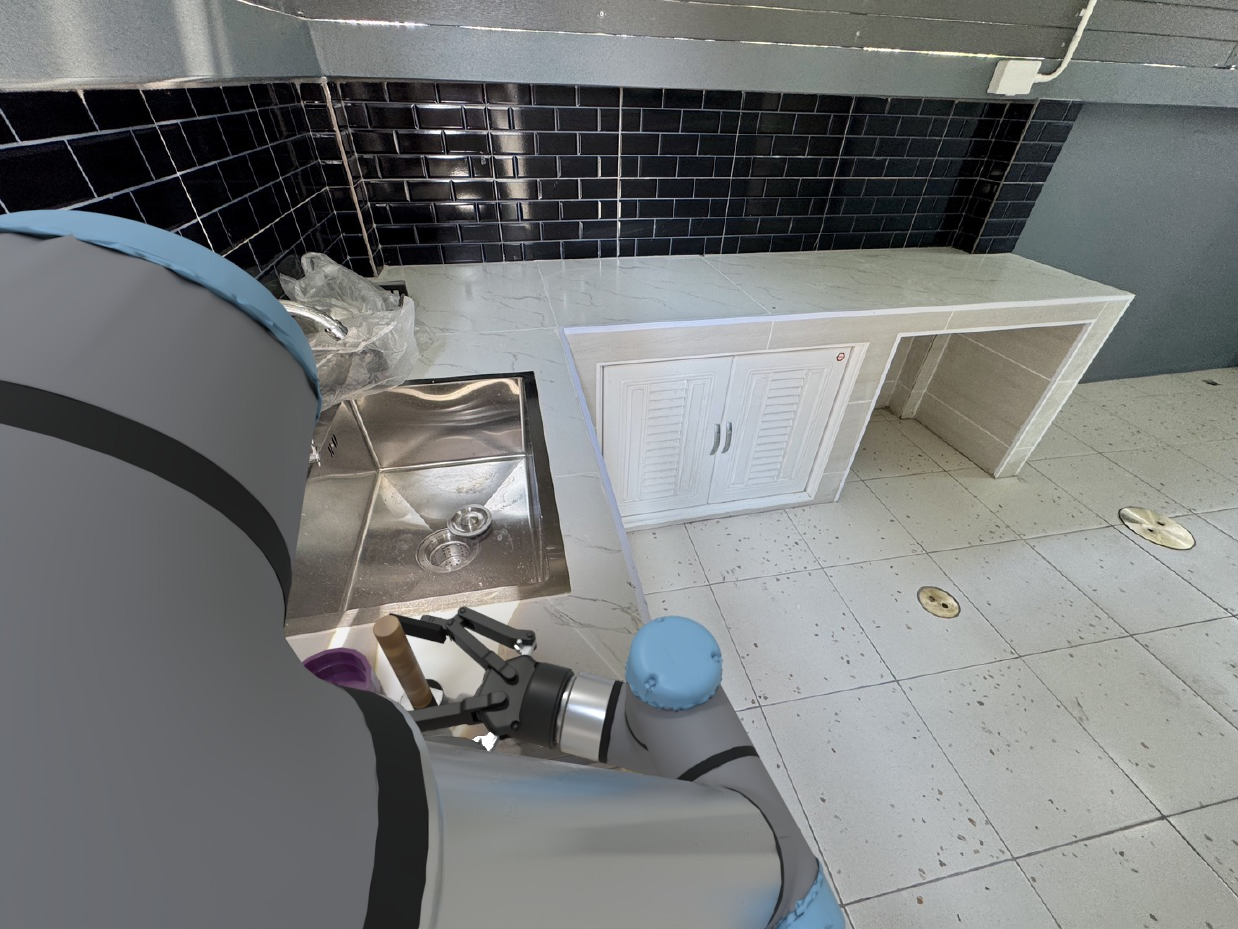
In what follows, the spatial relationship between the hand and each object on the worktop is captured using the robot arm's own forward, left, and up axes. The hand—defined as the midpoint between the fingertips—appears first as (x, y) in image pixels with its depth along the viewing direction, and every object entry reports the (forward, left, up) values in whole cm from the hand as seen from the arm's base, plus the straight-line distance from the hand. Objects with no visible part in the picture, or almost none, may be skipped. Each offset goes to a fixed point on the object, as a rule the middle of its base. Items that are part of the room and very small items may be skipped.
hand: (367, 657), depth 55 cm
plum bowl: (-5, +4, -10) cm, 12 cm away
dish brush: (+3, -4, -10) cm, 11 cm away
